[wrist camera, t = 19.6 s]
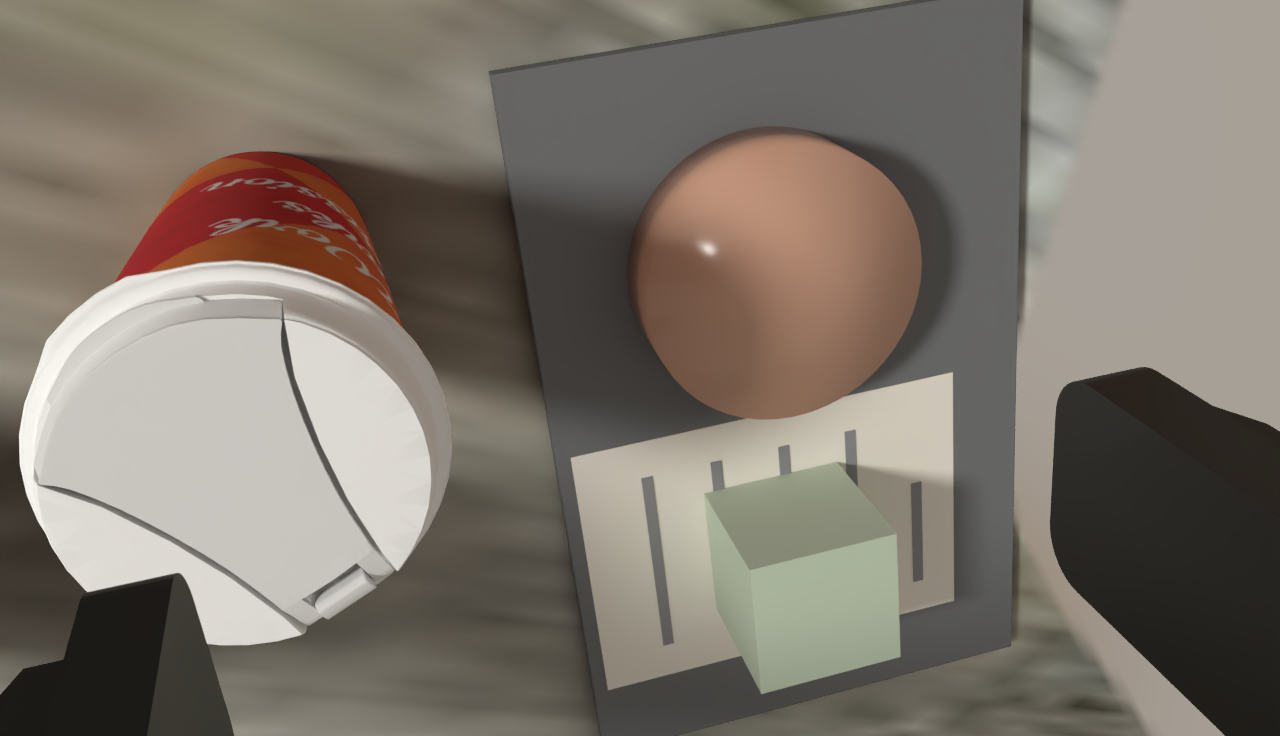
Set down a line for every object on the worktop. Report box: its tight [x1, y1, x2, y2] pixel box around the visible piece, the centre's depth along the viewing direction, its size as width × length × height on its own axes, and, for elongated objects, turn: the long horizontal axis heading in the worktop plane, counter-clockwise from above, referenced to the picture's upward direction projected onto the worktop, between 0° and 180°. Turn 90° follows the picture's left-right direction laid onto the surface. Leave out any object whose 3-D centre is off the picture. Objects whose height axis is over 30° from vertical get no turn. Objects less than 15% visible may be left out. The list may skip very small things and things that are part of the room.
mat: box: [489, 0, 1023, 736], centre depth 43 cm, size 17×26×1 cm, turn 7°
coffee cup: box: [19, 152, 452, 645], centre depth 30 cm, size 8×8×15 cm
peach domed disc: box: [627, 126, 922, 420], centre depth 39 cm, size 9×9×2 cm
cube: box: [704, 462, 901, 694], centre depth 42 cm, size 5×5×5 cm
